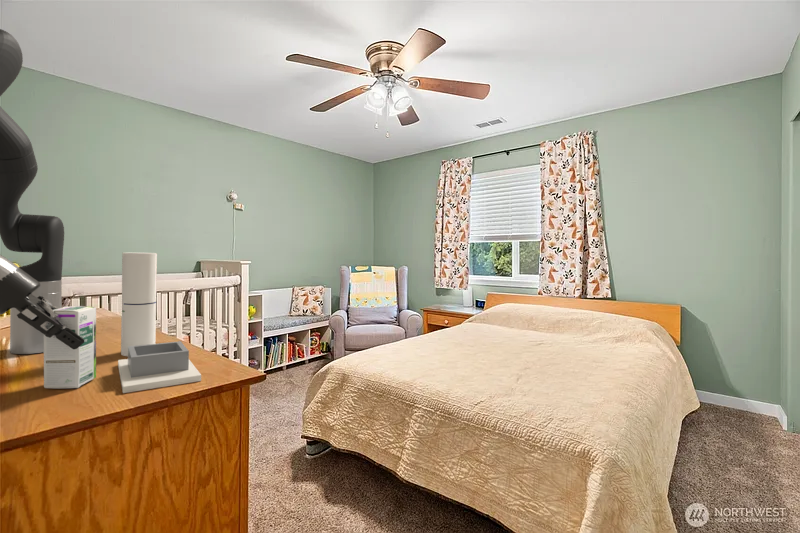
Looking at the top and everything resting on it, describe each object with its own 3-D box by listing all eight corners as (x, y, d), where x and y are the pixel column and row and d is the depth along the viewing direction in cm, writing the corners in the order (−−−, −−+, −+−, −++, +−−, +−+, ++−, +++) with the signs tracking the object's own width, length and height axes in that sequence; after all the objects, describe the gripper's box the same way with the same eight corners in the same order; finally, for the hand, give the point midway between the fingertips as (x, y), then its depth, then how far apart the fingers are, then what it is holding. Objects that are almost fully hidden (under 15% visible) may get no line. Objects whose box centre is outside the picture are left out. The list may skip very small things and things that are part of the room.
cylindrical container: (138, 357, 93) (139, 253, 92) (113, 354, 94) (114, 252, 93) (162, 350, 100) (163, 253, 99) (138, 347, 101) (140, 252, 100)
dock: (118, 365, 87) (118, 342, 86) (183, 357, 95) (184, 336, 94) (122, 393, 71) (123, 365, 71) (201, 380, 79) (201, 355, 79)
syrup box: (78, 388, 72) (79, 310, 71) (41, 388, 71) (42, 310, 70) (96, 378, 77) (98, 306, 77) (62, 378, 76) (64, 305, 76)
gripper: (9, 269, 63) (99, 333, 71) (23, 264, 74) (98, 319, 82) (-39, 302, 60) (60, 366, 67) (-18, 292, 71) (65, 347, 79)
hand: (81, 340), depth 75 cm, fingers closed on syrup box, 7 cm apart
